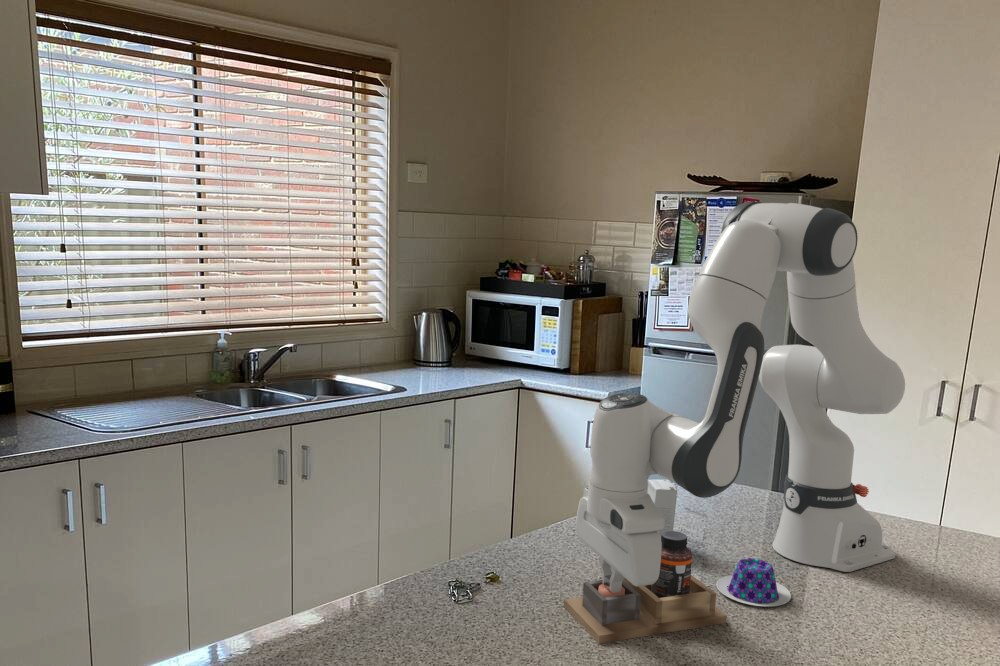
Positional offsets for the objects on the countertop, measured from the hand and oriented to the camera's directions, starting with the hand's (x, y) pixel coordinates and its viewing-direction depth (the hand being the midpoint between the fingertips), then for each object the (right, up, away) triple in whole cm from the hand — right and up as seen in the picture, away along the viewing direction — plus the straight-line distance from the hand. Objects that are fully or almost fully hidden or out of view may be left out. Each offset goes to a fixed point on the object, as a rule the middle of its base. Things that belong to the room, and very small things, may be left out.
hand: (611, 588), depth 126 cm
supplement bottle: (+10, -4, +4) cm, 11 cm away
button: (0, -3, +1) cm, 3 cm away
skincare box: (+13, -2, +31) cm, 34 cm away
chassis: (+5, -5, +3) cm, 8 cm away
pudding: (+25, -5, +12) cm, 29 cm away
